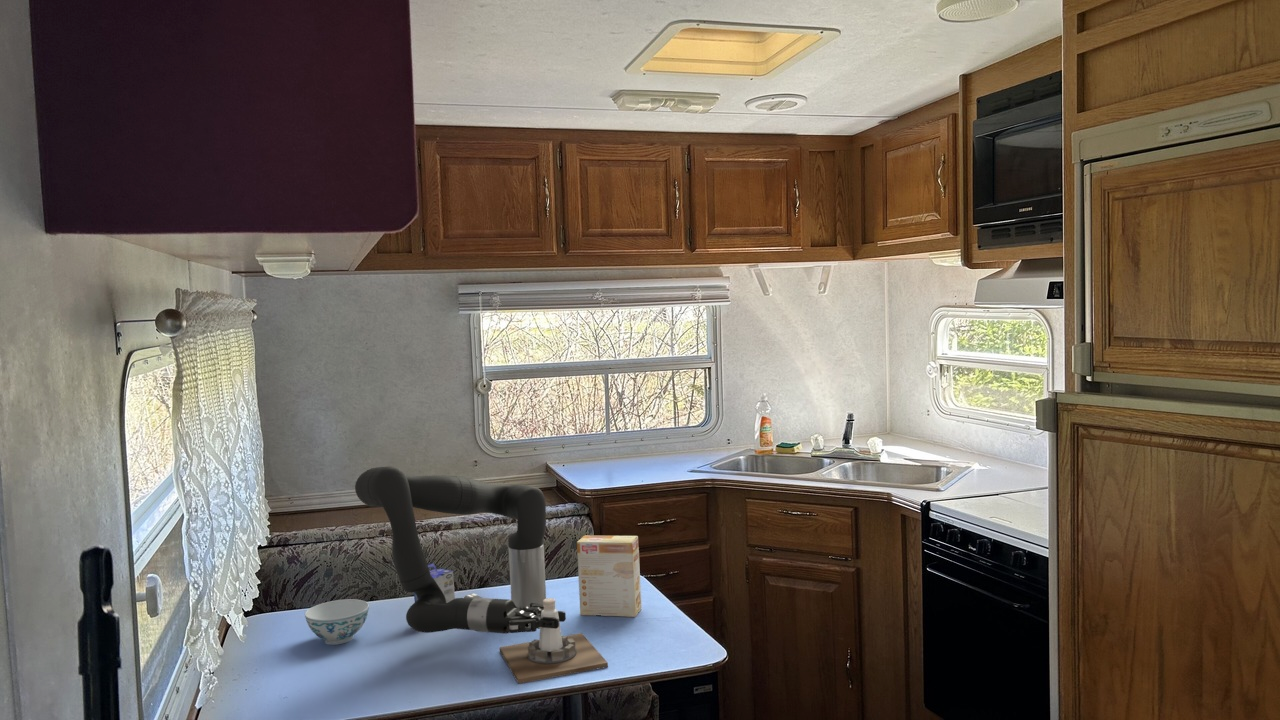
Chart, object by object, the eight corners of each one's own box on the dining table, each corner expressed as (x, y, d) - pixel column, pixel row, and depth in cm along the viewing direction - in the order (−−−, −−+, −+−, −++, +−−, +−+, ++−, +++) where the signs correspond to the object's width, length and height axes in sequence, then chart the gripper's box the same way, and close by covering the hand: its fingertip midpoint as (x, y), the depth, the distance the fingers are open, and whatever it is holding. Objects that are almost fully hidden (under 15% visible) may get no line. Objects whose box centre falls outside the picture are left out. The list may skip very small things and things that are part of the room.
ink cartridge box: (442, 613, 236) (439, 559, 235) (457, 616, 233) (454, 561, 232) (414, 625, 228) (411, 569, 227) (429, 628, 225) (426, 572, 224)
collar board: (499, 651, 207) (499, 636, 207) (582, 637, 214) (581, 622, 214) (518, 683, 188) (517, 667, 188) (607, 667, 195) (607, 651, 195)
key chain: (462, 600, 247) (462, 595, 247) (474, 597, 250) (473, 592, 250) (488, 610, 238) (487, 605, 238) (499, 607, 240) (499, 601, 240)
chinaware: (305, 635, 223) (303, 605, 223) (367, 625, 229) (365, 595, 229) (308, 655, 210) (306, 623, 209) (374, 643, 216) (372, 612, 215)
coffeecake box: (642, 608, 233) (638, 535, 232) (635, 617, 226) (632, 542, 225) (587, 606, 236) (584, 534, 235) (579, 615, 229) (576, 541, 228)
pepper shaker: (533, 648, 201) (532, 600, 200) (551, 641, 205) (550, 594, 204) (549, 653, 197) (548, 605, 196) (567, 646, 201) (566, 598, 200)
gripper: (477, 609, 197) (550, 614, 193) (503, 589, 211) (571, 593, 206) (478, 642, 198) (551, 647, 193) (504, 620, 211) (572, 625, 207)
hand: (561, 619), depth 200 cm, fingers closed on pepper shaker, 3 cm apart
